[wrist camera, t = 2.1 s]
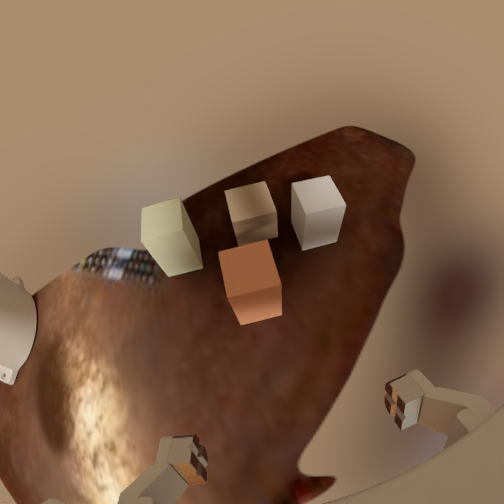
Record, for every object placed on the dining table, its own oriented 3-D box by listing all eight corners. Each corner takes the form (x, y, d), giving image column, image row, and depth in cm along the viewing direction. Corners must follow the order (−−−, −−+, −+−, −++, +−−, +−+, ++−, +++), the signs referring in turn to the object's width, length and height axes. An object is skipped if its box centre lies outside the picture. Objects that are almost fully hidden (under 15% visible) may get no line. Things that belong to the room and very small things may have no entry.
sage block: (168, 276, 33) (141, 241, 26) (166, 247, 35) (141, 208, 29) (203, 268, 33) (182, 229, 26) (198, 238, 36) (179, 197, 29)
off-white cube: (238, 247, 34) (232, 222, 30) (231, 216, 37) (224, 190, 33) (278, 237, 34) (276, 211, 30) (267, 207, 37) (265, 181, 33)
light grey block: (302, 250, 33) (305, 214, 27) (291, 221, 35) (291, 183, 29) (336, 241, 33) (346, 204, 27) (323, 214, 36) (329, 175, 30)
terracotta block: (241, 325, 29) (227, 297, 22) (232, 288, 32) (218, 251, 25) (282, 314, 29) (281, 284, 22) (271, 278, 32) (267, 239, 25)
